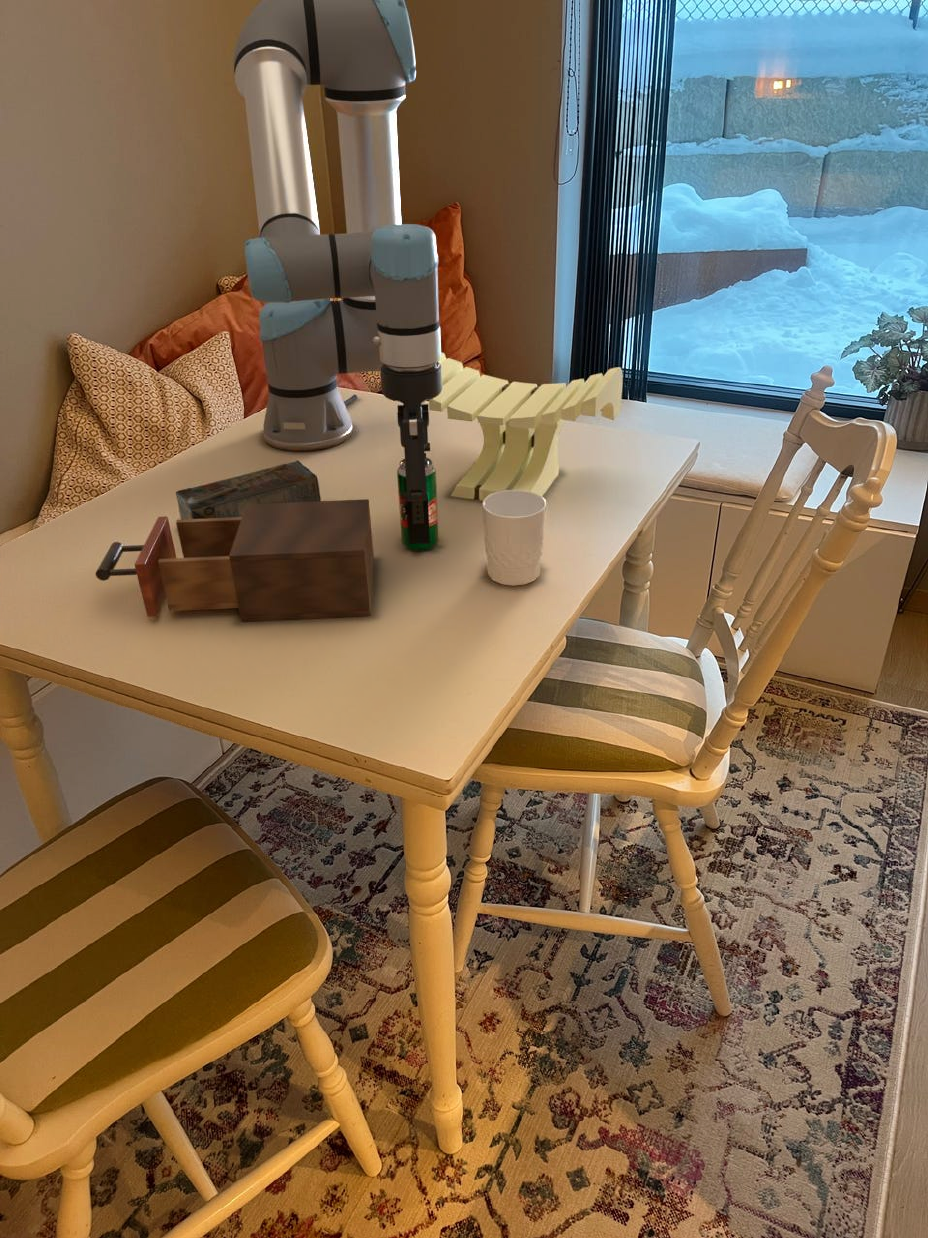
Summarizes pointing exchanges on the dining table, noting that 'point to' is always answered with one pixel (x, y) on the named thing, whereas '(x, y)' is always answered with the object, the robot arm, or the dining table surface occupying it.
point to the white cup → (514, 535)
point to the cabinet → (303, 560)
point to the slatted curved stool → (519, 423)
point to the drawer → (182, 565)
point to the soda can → (432, 506)
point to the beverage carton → (249, 492)
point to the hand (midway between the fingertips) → (419, 519)
